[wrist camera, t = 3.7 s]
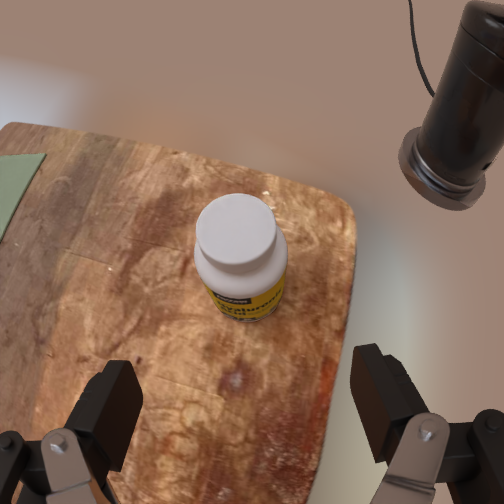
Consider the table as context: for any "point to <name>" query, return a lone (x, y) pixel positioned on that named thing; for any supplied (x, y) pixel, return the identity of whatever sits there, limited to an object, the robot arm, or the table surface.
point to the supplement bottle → (241, 256)
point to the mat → (15, 183)
